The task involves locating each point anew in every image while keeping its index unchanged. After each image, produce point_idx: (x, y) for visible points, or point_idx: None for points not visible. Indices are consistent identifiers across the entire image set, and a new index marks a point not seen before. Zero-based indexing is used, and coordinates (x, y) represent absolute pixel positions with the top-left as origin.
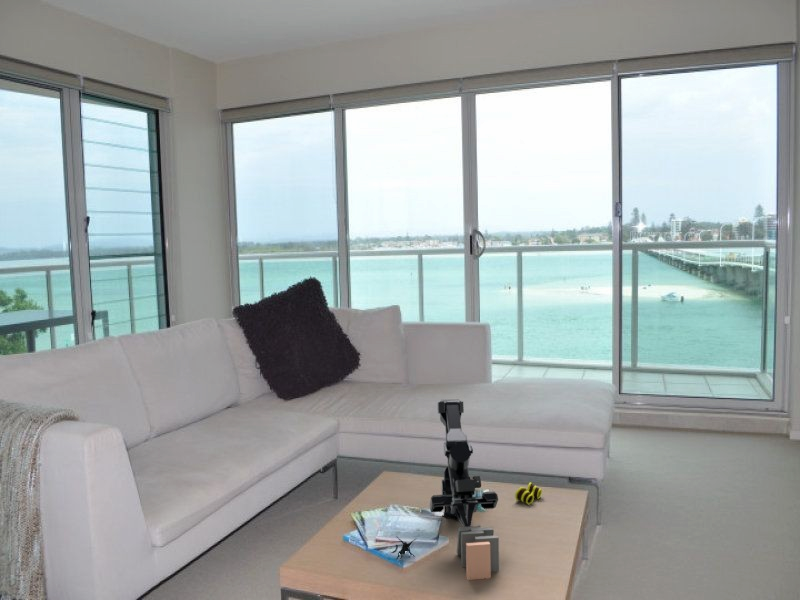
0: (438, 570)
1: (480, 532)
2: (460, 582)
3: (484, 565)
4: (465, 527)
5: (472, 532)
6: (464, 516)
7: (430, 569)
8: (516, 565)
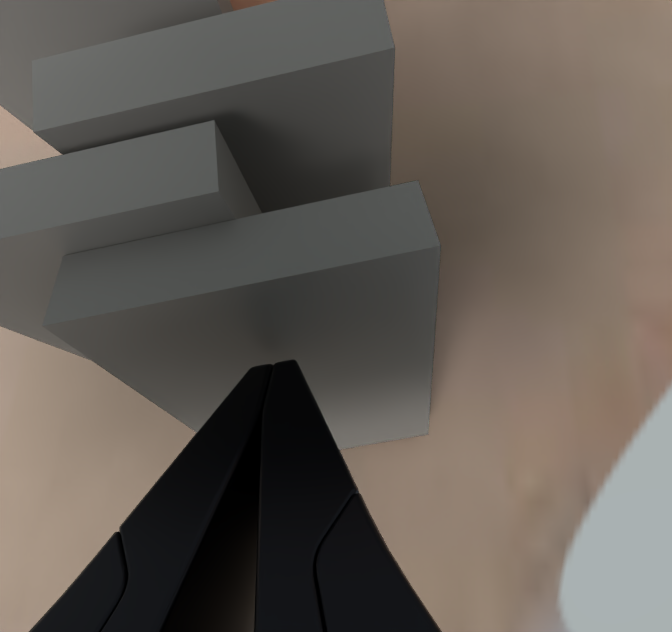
0: (555, 159)
1: (83, 69)
2: (394, 31)
3: None
4: (309, 261)
5: (204, 57)
6: (289, 547)
7: (619, 168)
8: None
